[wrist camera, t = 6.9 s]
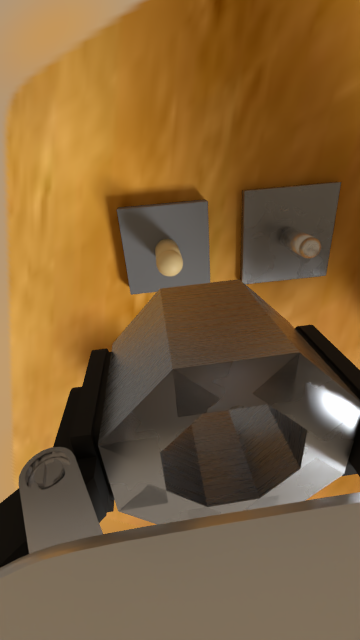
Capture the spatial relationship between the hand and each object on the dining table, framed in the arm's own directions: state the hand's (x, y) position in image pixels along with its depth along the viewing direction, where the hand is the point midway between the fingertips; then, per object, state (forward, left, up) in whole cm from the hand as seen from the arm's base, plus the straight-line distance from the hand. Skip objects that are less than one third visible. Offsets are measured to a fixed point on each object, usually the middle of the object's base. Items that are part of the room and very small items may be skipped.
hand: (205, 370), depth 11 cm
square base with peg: (0, 0, -20) cm, 20 cm away
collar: (0, 0, 0) cm, 0 cm away
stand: (-12, 0, -20) cm, 23 cm away
